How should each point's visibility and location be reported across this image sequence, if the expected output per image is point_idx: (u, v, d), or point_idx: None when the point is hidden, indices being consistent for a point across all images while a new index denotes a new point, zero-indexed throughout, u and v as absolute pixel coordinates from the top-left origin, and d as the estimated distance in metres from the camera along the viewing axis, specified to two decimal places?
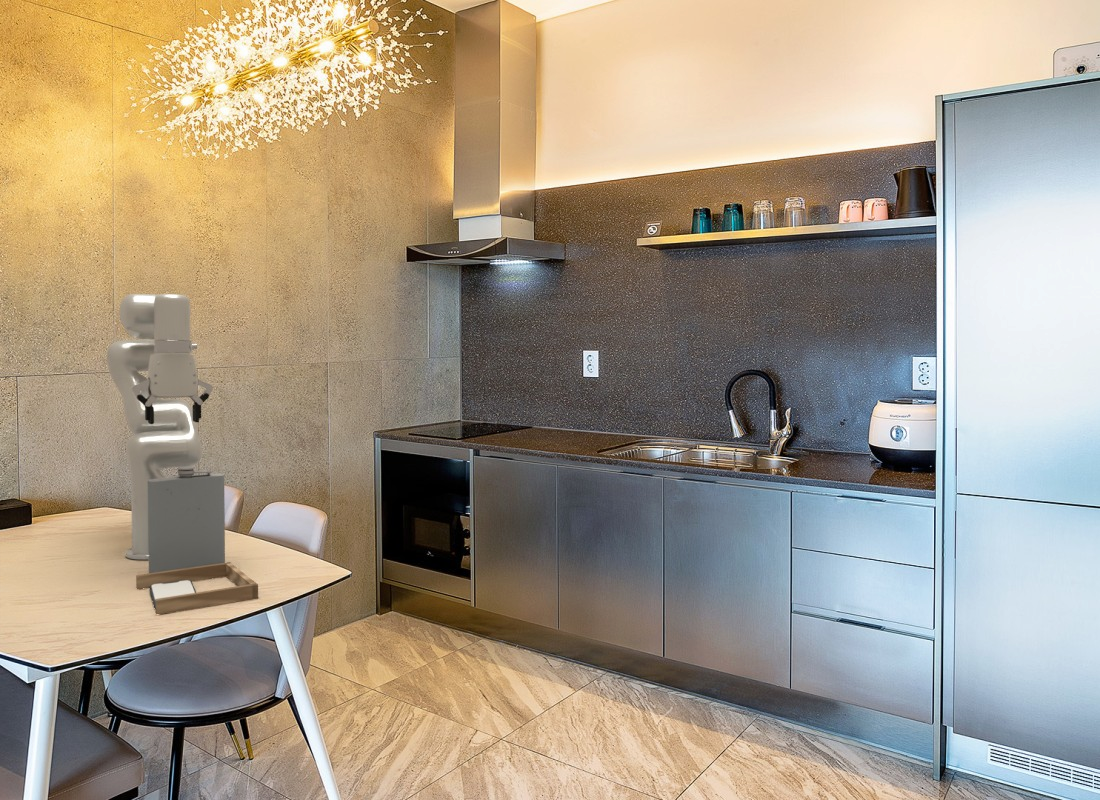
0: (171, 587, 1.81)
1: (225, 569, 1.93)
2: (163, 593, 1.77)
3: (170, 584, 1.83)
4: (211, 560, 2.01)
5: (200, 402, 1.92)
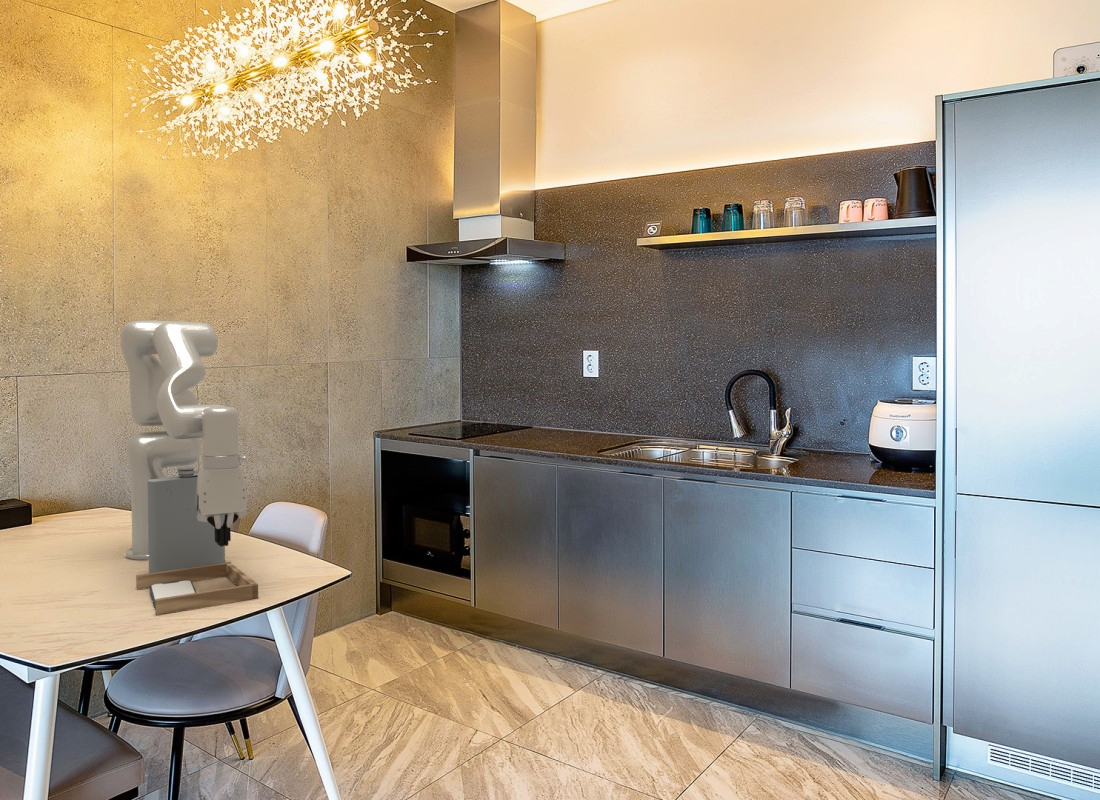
0: (171, 587, 1.81)
1: (225, 569, 1.93)
2: (163, 593, 1.77)
3: (170, 585, 1.82)
4: (211, 560, 2.01)
5: (229, 524, 1.82)
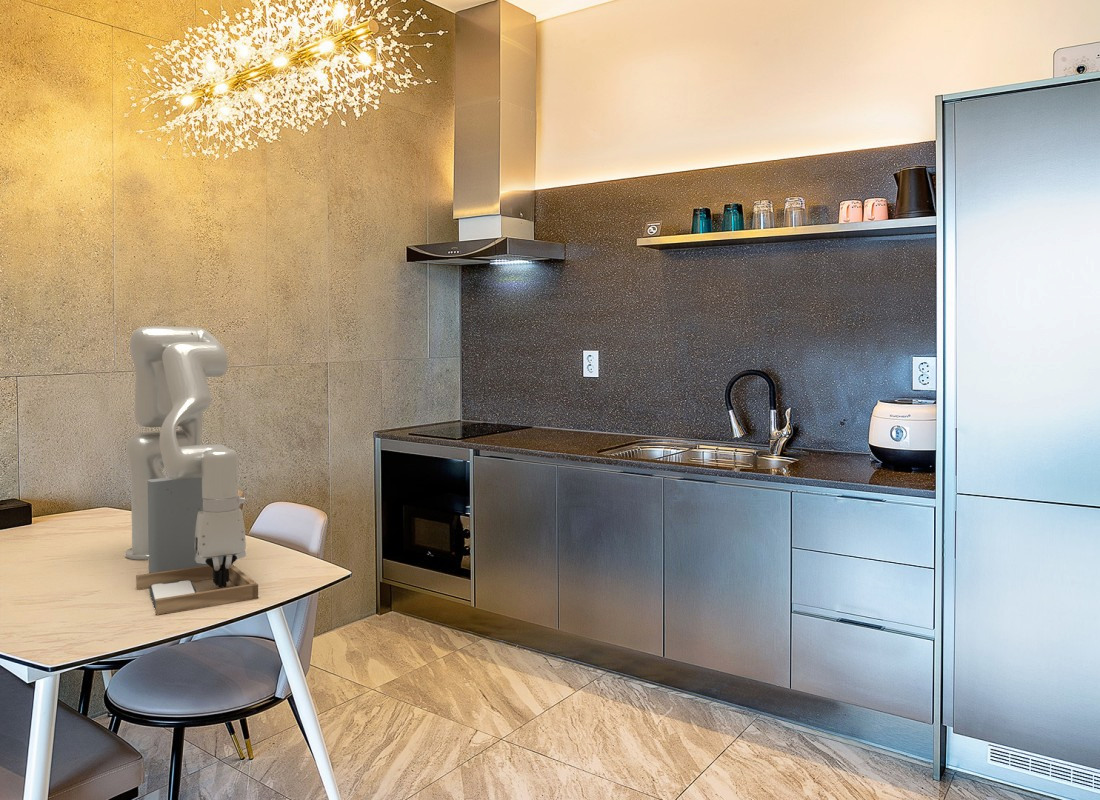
0: (171, 587, 1.81)
1: None
2: (163, 593, 1.77)
3: (170, 585, 1.82)
4: None
5: (228, 566, 1.83)
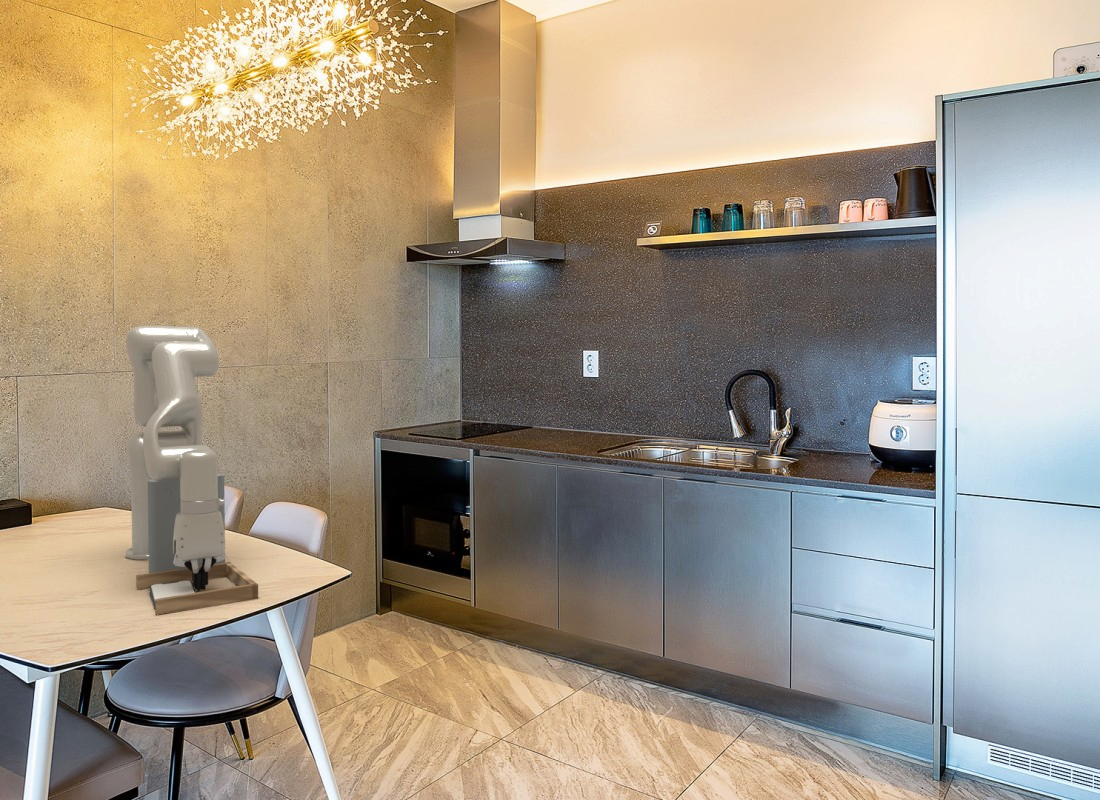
0: (171, 587, 1.81)
1: (225, 569, 1.93)
2: (163, 593, 1.77)
3: (169, 585, 1.82)
4: None
5: (207, 569, 1.81)
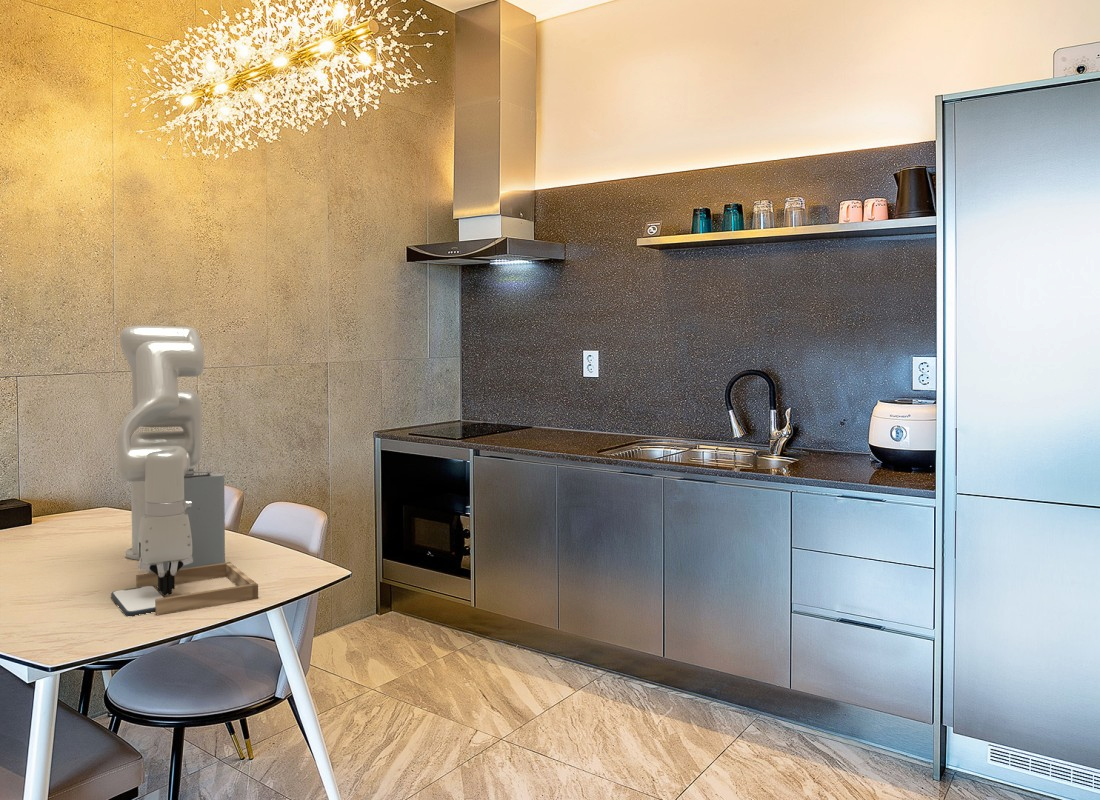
0: (135, 593, 1.76)
1: (225, 569, 1.93)
2: (130, 599, 1.72)
3: (133, 591, 1.78)
4: (211, 560, 2.01)
5: (173, 572, 1.76)
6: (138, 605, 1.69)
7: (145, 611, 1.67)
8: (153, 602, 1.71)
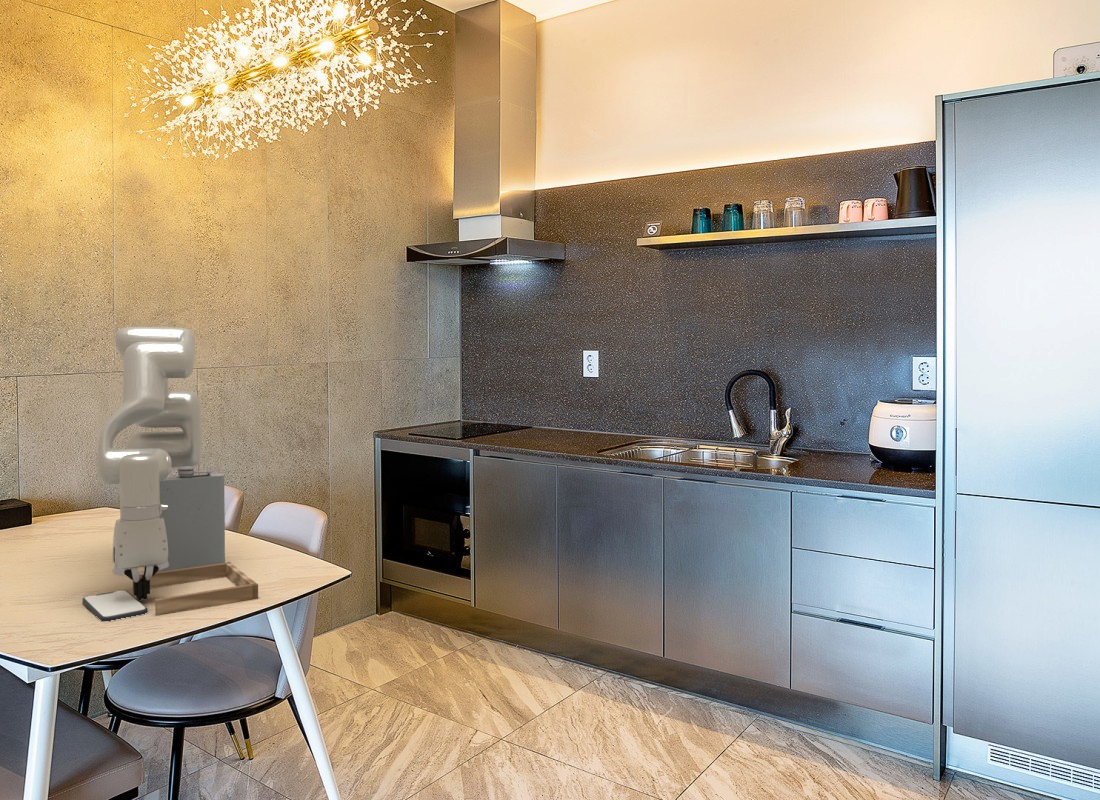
0: (108, 598, 1.72)
1: (225, 569, 1.93)
2: (103, 604, 1.69)
3: (105, 596, 1.74)
4: (211, 560, 2.01)
5: (148, 577, 1.74)
6: (113, 610, 1.66)
7: (121, 616, 1.64)
8: (128, 607, 1.68)
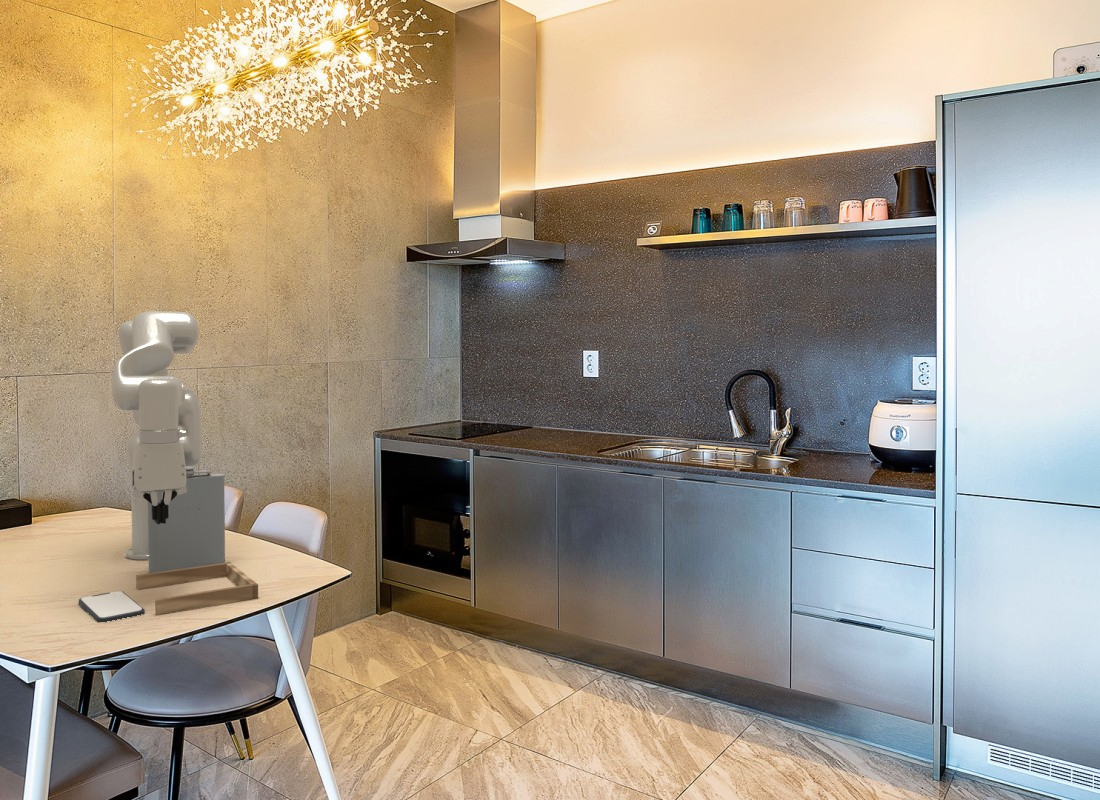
0: (105, 599, 1.72)
1: (225, 569, 1.93)
2: (100, 605, 1.68)
3: (101, 597, 1.73)
4: (211, 560, 2.01)
5: (167, 501, 1.75)
6: (110, 611, 1.65)
7: (118, 617, 1.63)
8: (125, 608, 1.67)
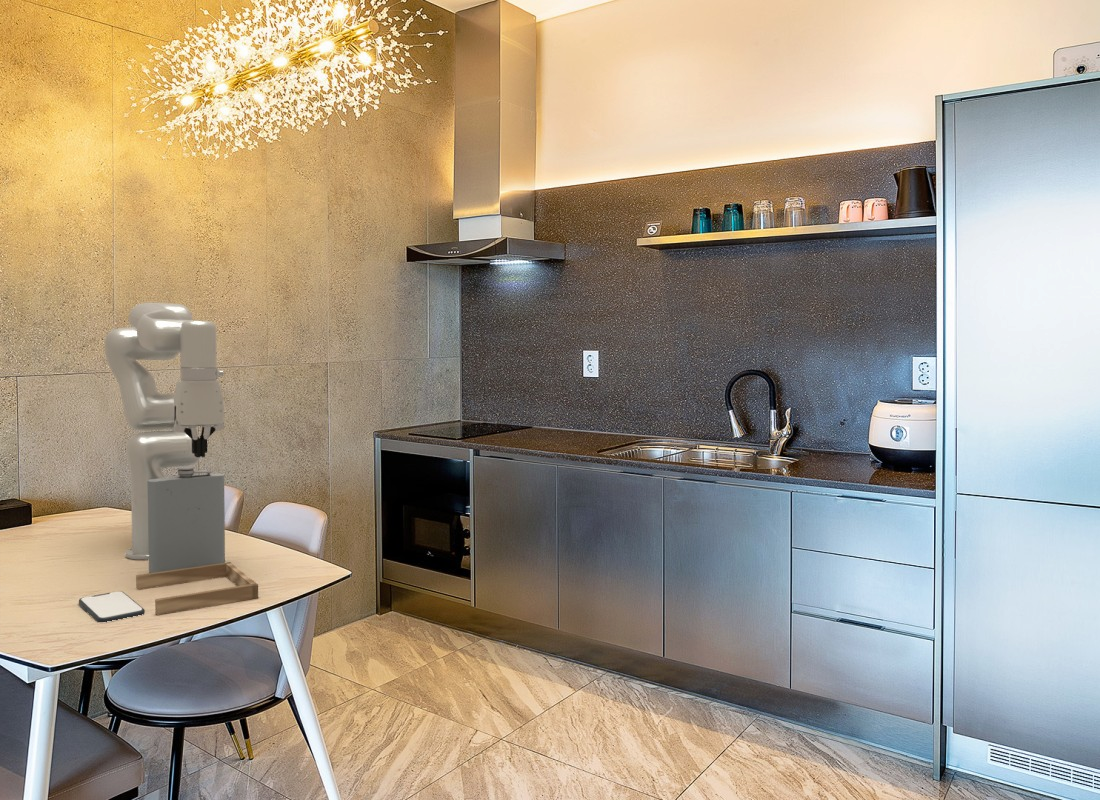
0: (105, 599, 1.72)
1: (225, 569, 1.93)
2: (100, 605, 1.68)
3: (101, 597, 1.73)
4: (211, 560, 2.01)
5: (206, 436, 1.86)
6: (110, 611, 1.65)
7: (118, 617, 1.63)
8: (125, 608, 1.67)
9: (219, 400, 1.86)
